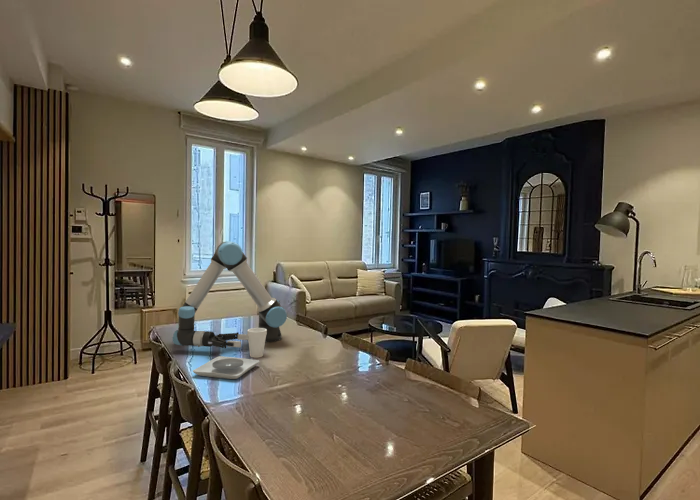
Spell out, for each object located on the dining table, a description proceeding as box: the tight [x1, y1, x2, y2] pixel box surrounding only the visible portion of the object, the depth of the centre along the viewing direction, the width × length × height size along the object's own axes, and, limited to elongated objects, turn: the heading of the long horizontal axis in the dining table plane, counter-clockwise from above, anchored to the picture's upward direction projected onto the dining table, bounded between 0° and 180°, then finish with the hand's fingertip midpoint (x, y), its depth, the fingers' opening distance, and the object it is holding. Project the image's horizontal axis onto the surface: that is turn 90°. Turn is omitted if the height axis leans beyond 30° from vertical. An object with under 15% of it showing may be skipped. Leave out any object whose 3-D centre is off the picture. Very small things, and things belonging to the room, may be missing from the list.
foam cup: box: [246, 327, 267, 359], centre depth 192 cm, size 10×9×13 cm
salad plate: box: [192, 355, 260, 380], centre depth 168 cm, size 21×21×3 cm
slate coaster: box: [212, 358, 243, 369], centre depth 168 cm, size 13×13×1 cm
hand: (245, 340), depth 192 cm, fingers open, 13 cm apart
